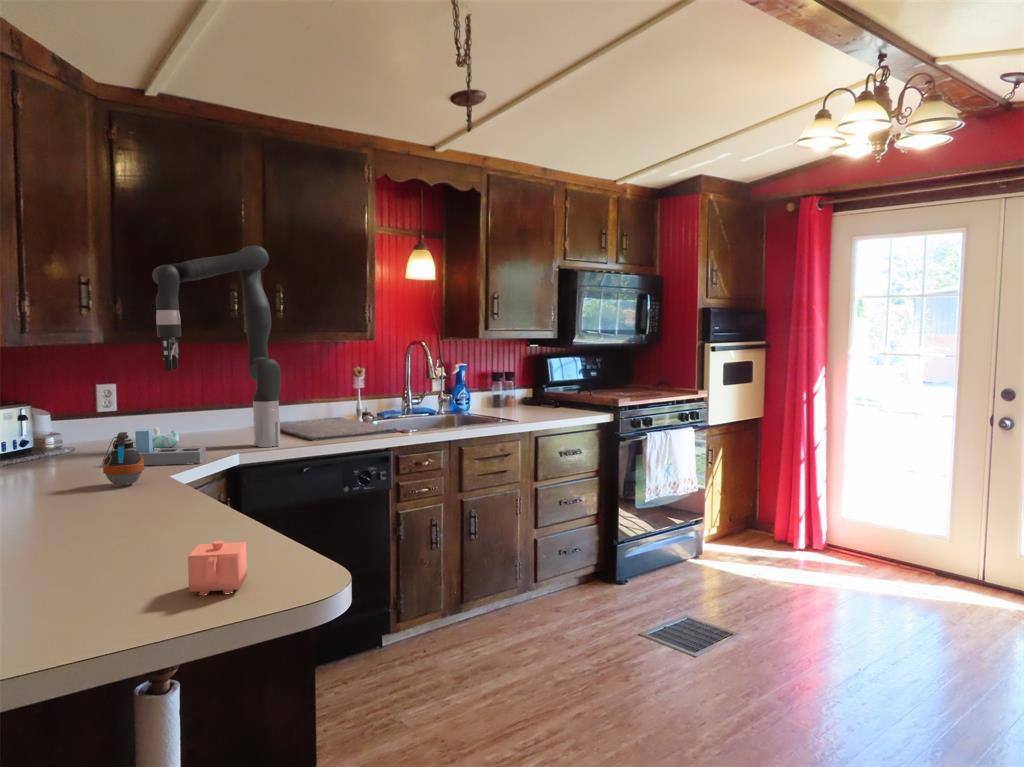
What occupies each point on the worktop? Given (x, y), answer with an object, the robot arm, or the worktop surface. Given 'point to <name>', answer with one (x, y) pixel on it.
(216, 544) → the pink cube teapot
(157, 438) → the figurine
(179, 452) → the panel
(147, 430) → the plug
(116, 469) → the grenade
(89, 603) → the worktop surface
